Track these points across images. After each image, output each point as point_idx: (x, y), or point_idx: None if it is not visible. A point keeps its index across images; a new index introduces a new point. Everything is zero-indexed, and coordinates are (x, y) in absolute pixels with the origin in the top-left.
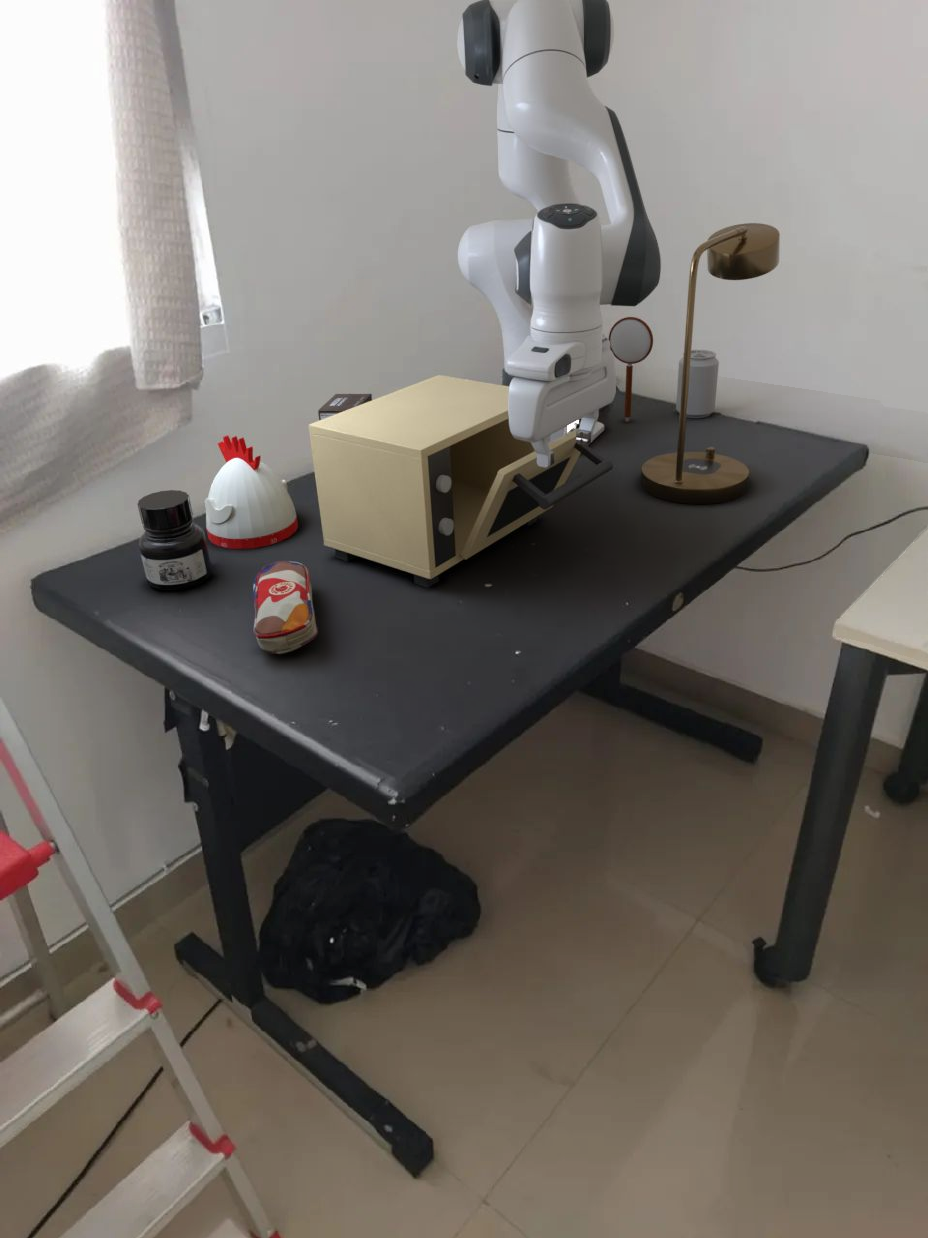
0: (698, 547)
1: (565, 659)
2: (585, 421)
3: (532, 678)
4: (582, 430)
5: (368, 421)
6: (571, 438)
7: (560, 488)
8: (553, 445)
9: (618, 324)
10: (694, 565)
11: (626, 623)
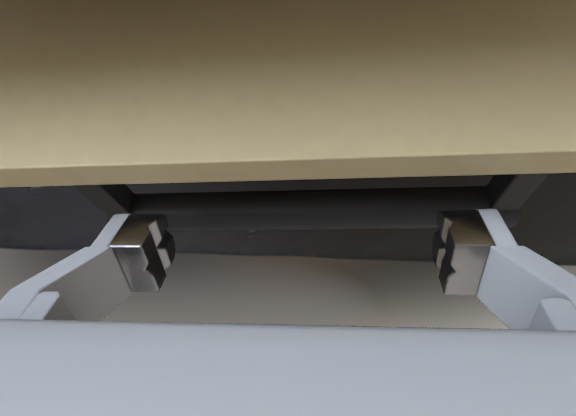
0: (508, 228)
1: (81, 236)
2: (525, 295)
3: (19, 229)
4: (480, 262)
5: None
6: (475, 174)
7: (195, 226)
8: (316, 171)
9: None
10: (431, 249)
11: (208, 251)
